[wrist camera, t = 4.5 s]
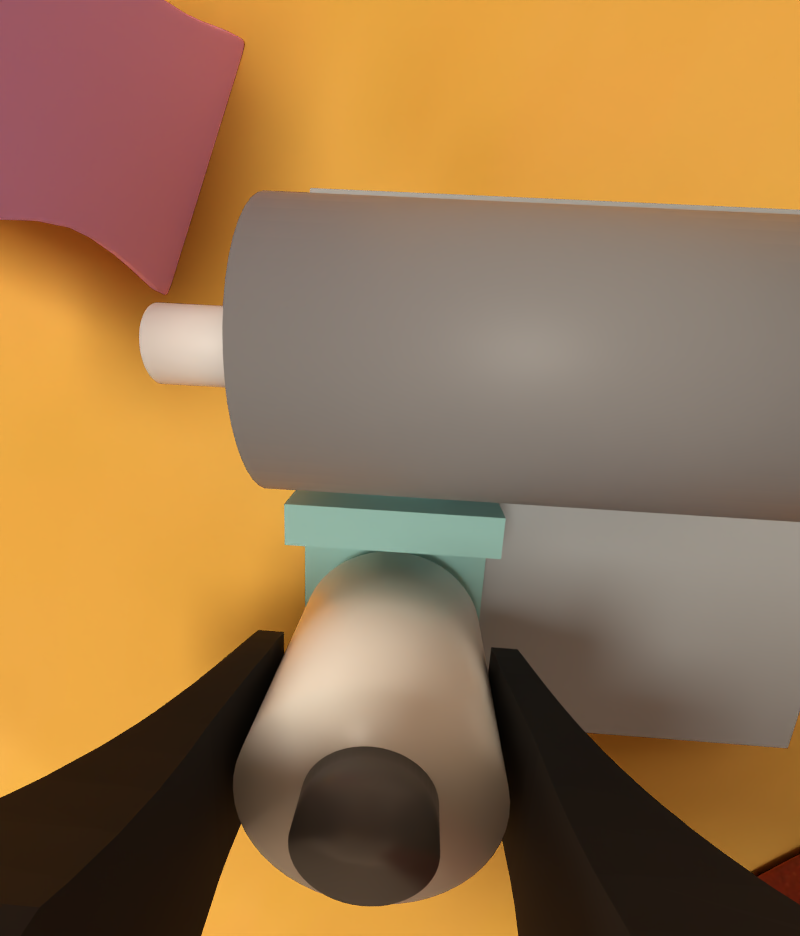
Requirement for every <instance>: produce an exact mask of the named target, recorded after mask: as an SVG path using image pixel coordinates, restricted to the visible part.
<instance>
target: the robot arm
mask: <svg viewBox="0 0 800 936" xmlns="http://www.w3.org/2000/svg"><path fill="white" fill-rule="evenodd" d="M283 656H284V632H275V631H262V630H258V631H257V632H256V633H254V634H253V635H252V636H251V637H249V638H248V639H247V640H246V641H245V642H243V643H242V644H241V645H240V646H239V647H237V648H236V649H235V650H234V651H233V652H231V653H230V654H229V655H228V656H227V657H226V658H224V659H223V660H222V661H221V662H220V663H218V664H217V665H216V666H215V667H213V668H212V669H211V670H210V671H208V672H207V673H206V674H205V675H203V676H202V677H201V678H200V679H199V680H197V681H196V682H195V683H194V684H192V685H191V686H190V687H188V688H187V689H185V690H184V691H183V692H181V693H180V694H179V695H177V696H176V697H175V698H173V699H172V700H171V701H169V702H168V703H166V704H165V705H164V706H162V707H161V708H160V709H158V710H157V711H155V712H154V713H153V714H151V715H150V716H148V717H147V718H145V719H144V720H142V721H141V722H139V723H138V724H136V725H134V726H133V727H131V728H130V729H128V730H126V731H125V732H123V733H122V734H120V735H118V736H117V737H115V738H114V739H112V740H110V741H109V742H107V743H105V744H104V745H102V746H100V747H98V748H97V749H95V750H93V751H91V752H89V753H87V754H86V755H84V756H82V757H80V758H78V759H76V760H75V761H73V762H71V763H69V764H67V765H65V766H64V767H62V768H60V769H58V770H56V771H54V772H52V773H51V774H49V775H47V776H45V777H43V778H41V779H39V780H37V781H35V782H33V783H31V784H29V785H27V786H24V787H22V788H20V789H18V790H16V791H14V792H12V793H10V794H8V795H6V796H3V797H1V798H0V936H201V934H202V931H203V928H204V925H205V922H206V919H207V916H208V912H209V909H210V906H211V903H212V900H213V897H214V894H215V891H216V887H217V884H218V881H219V878H220V875H221V873H222V870H223V867H224V865H225V862H226V859H227V857H228V854H229V852H230V849H231V847H232V844H233V842H234V839H235V837H236V835H237V832H238V830H239V827H240V825H241V822H240V819H239V817H238V813H237V810H236V807H235V802H234V794H233V776H234V771H235V766H236V761H237V759H238V756H239V754H240V751H241V748H242V746H243V744H244V742H245V740H246V737H247V735H248V733H249V731H250V729H251V726H252V724H253V722H254V720H255V718H256V715H257V713H258V711H259V709H260V707H261V704H262V702H263V700H264V698H265V696H266V693H267V691H268V689H269V687H270V685H271V682H272V680H273V678H274V676H275V673H276V671H277V669H278V667H279V665H280V662H281V660H282V658H283ZM488 676H489V682H490V687H491V693H492V698H493V704H494V709H495V715H496V720H497V726H498V732H499V737H500V743H501V748H502V754H503V759H504V765H505V770H506V776H507V781H508V787H509V796H510V811H509V819H508V823H507V828H506V831H505V833H504V836H503V838H502V841H503V846H504V851H505V856H506V861H507V865H508V870H509V875H510V880H511V886H512V892H513V898H514V904H515V912H516V920H517V928H518V936H800V904H798V903H796V902H795V901H793V900H792V899H790V898H789V897H787V896H785V895H784V894H782V893H781V892H779V891H778V890H776V889H774V888H773V887H771V886H770V885H768V884H767V883H765V882H764V881H763V880H761V879H760V878H758V877H757V876H755V875H754V874H753V873H751V872H750V871H748V870H747V869H746V868H744V867H743V866H741V865H740V864H738V863H737V862H736V861H734V860H733V859H731V858H730V857H729V856H727V855H726V854H724V853H723V852H722V851H720V850H719V849H718V848H716V847H715V846H714V845H712V844H711V843H710V842H708V841H707V840H706V839H704V838H703V837H701V836H700V835H699V834H698V833H696V832H695V831H694V830H692V829H691V828H690V827H689V826H687V825H686V824H685V823H684V822H683V821H681V820H680V819H679V818H678V817H676V816H675V815H674V814H673V813H671V812H670V811H669V810H668V809H666V808H665V807H664V806H663V805H661V804H660V803H659V802H658V801H657V800H656V799H654V798H653V797H652V796H651V795H650V794H649V793H647V792H646V791H645V790H644V789H643V788H642V787H641V786H640V785H639V784H637V783H636V782H635V781H634V780H633V779H632V778H631V777H630V776H629V775H628V774H627V773H626V772H624V771H623V770H622V769H621V768H620V767H619V766H618V765H617V764H616V763H615V762H614V761H613V760H612V759H611V758H610V757H609V756H608V755H607V754H606V753H605V752H604V751H603V750H602V749H601V748H600V747H599V746H598V745H597V744H596V743H595V742H594V741H593V740H592V739H591V738H590V737H589V736H588V735H587V733H586V732H585V731H584V730H583V729H582V728H581V727H580V726H579V725H578V724H577V722H576V721H575V720H574V719H573V718H572V717H571V715H570V714H569V713H568V712H567V711H566V710H565V708H564V707H563V706H562V705H561V704H560V702H559V701H558V700H557V699H556V698H555V696H554V695H553V694H552V693H551V691H550V690H549V689H548V688H547V686H546V685H545V684H544V683H543V681H542V680H541V679H540V677H539V676H538V675H537V674H536V672H535V671H534V670H533V668H532V667H531V666H530V664H529V663H528V662H527V660H526V659H525V658H524V657H523V655H522V654H521V653H520V652H519V650H518V649H508V648H494V647H491V653H490V661H489V670H488Z"/></svg>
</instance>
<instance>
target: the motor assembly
mask: <svg viewBox="0 0 800 936" xmlns="http://www.w3.org/2000/svg"><path fill="white" fill-rule="evenodd" d="M139 345H140V352H141V356H142V360H143V363H144V366H145V368H146V370H147V372H148V373H149V375H150V376H151V377H152V378H153V379H154V380H155V381H156V382H158V383H161V384H176V385H193V386H211V387H225V388H226V396H227V404H228V409H229V415H230V420H231V425H232V429H233V433H234V437H235V441H236V444H237V447H238V450H239V453H240V456H241V459H242V461H243V463H244V465H245V467H246V469H247V471H248V473H249V474H250V476H251V477H252V479H253V480H254V481H255V482H256V483H257V484H258V485H259V486H261V487H263V488H270V489H286V490H296V491H295V492H294V493H293V494H292V496H291V497H290V498H289V499H288V500H287V502H286V503H285V504H284V511H285V545H296V546H305V607H306V605H307V603H308V601H309V599H310V596H311V595H312V593H313V591H314V589H315V588H316V586H317V585H318V584H319V582H320V581H321V580H322V579H323V578H324V577H325V576H326V575H327V574H328V573H329V572H330V571H331V570H333V569H334V568H335V567H337V566H338V565H340V564H342V563H344V562H345V561H347V560H349V559H352V558H354V557H357V556H360V555H364V554H368V553H373V552H383V551H385V552H400V553H409V554H412V555H416V556H420V557H422V558H425V559H427V560H430V561H432V562H434V563H436V564H437V565H439V566H441V567H442V568H444V569H445V570H446V571H448V572H449V573H451V574H452V575H453V576H454V577H455V578H456V579H457V580H458V581H459V582H460V583H461V585H462V586H463V587H464V588H465V590H466V591H467V593H468V594H469V596H470V598H471V600H472V602H473V604H474V606H475V609H476V613H477V616H478V620H479V626H480V632H481V637H482V643H483V648H484V654H485V659H486V665H487V670H489V661H490V653H491V647H494V648H508V649H518V650H519V652H520V653H521V654H522V655H523V657H524V658H525V659H526V660H527V662H528V663H529V664H530V666H531V667H532V668H533V670H534V671H535V672H536V674H537V675H538V676H539V677H540V679H541V680H542V681H543V683H544V684H545V685H546V686H547V688H548V689H549V690H550V691H551V693H552V694H553V695H554V696H555V698H556V699H557V700H558V701H559V702H560V704H561V705H562V706H563V707H564V708H565V710H566V711H567V712H568V713H569V714H570V715H571V717H572V718H573V719H574V720H575V721H576V722H577V724H578V725H579V726H580V727H581V728H582V729H583V730H584V731H585V732H586V733H597V734H610V735H623V736H636V737H649V738H662V739H675V740H687V741H700V742H713V743H726V744H739V745H752V746H765V747H777V748H788V746H789V743H790V740H791V736H792V733H793V730H794V727H795V724H796V721H797V718H798V715H799V712H800V210H790V209H768V208H745V207H723V206H700V205H678V204H655V203H633V202H610V201H588V200H565V199H543V198H520V197H498V196H475V195H453V194H430V193H408V192H385V191H363V190H340V189H318V188H310V193H307V192H284V191H260V192H257V193H256V194H255V195H253V196H252V197H251V198H250V199H249V201H248V202H247V204H246V205H245V207H244V209H243V211H242V213H241V215H240V217H239V220H238V223H237V226H236V229H235V232H234V235H233V239H232V244H231V248H230V252H229V257H228V264H227V271H226V277H225V288H224V299H223V306H214V305H195V304H176V303H153V304H151V305H150V306H149V307H148V308H147V309H146V310H145V312H144V314H143V317H142V320H141V324H140V331H139Z"/></svg>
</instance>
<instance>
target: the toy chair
mask: <svg viewBox="0 0 800 936" xmlns="http://www.w3.org/2000/svg"><path fill="white" fill-rule="evenodd" d="M243 49H244V41H243V39H241V38H240V37H238V36H236V35H234V34H232V33H230V32H228V31H226V30H224V29H221V28H219V27H216V26H213V25H211V24H208V23H205V22H203V21H200V20H198V19H196V18H194V17H192V16H190V15H187V14H186V13H184V12H182V11H181V10H179V9H178V8H176V7H174V6H173V5H171V4H170V3H168V2H166V1H165V0H0V219H1V220H29V221H40V222H45V223H50V224H54V225H59V226H64V227H69V228H71V229H73V230H75V231H77V232H80V233H82V234H84V235H86V236H88V237H89V238H91V239H92V240H94V241H95V242H97V243H98V244H100V245H101V246H102V247H104V248H105V249H107V250H108V251H110V252H111V253H113V254H114V255H115V256H116V257H117V258H118V259H120V260H121V261H122V262H123V263H124V264H126V265H127V266H128V267H129V268H130V269H131V270H132V271H134V272H135V273H136V274H137V275H138V276H139V277H140V278H141V279H142V280H143V281H144V282H145V283H146V284H147V285H149V286H150V287H151V288H152V289H154V290H156V291H158V292H160V293H162V294H164V295H165V294H168V292H169V289H170V286H171V283H172V280H173V277H174V274H175V271H176V267H177V264H178V261H179V258H180V254H181V251H182V248H183V245H184V241H185V238H186V235H187V232H188V228H189V225H190V222H191V219H192V215H193V212H194V209H195V206H196V203H197V199H198V196H199V193H200V190H201V186H202V183H203V180H204V177H205V173H206V170H207V167H208V164H209V160H210V157H211V154H212V151H213V147H214V144H215V141H216V138H217V134H218V131H219V128H220V125H221V121H222V118H223V115H224V112H225V108H226V105H227V102H228V99H229V96H230V92H231V89H232V86H233V83H234V79H235V76H236V73H237V69H238V66H239V63H240V60H241V56H242V53H243Z"/></svg>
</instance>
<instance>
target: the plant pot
mask: <svg viewBox="0 0 800 936" xmlns="http://www.w3.org/2000/svg"><path fill="white" fill-rule="evenodd" d="M757 877H758V878H760V879H761V880H763V881H764V882H765V883H767V884H768V885H770V886H771V887H773V888H774V889H776V890H778V891H779V892H781V893H782V894H784V895H785V896H787V897H789V898H790V899H792V900H793V901H795V902H796V903H798V904H800V854H799V855H797V856H795V857H793V858H791V859H789V860H788V861H786V862H784V863H782V864H780V865H778V866H776V867H774V868H772V869H770V870H769V871H767V872H765V873H763V874H761V875H759V876H757Z"/></svg>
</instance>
